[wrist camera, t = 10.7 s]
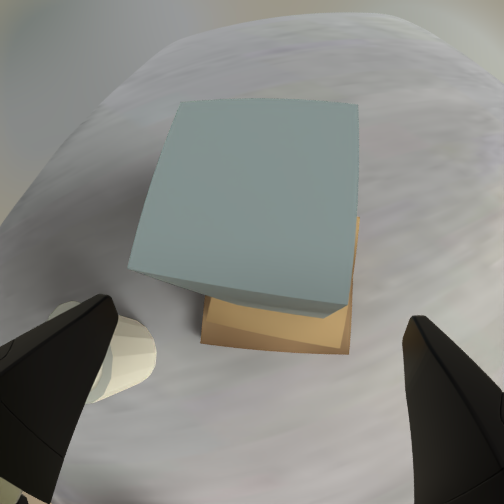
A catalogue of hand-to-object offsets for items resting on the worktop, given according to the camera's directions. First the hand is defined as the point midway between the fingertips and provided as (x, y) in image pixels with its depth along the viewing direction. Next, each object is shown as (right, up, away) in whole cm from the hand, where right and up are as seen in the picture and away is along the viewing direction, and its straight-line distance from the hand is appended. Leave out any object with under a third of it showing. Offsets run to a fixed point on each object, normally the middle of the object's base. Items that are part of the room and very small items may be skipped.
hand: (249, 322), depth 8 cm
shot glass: (-10, -6, +14) cm, 18 cm away
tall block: (+2, +1, +9) cm, 9 cm away
